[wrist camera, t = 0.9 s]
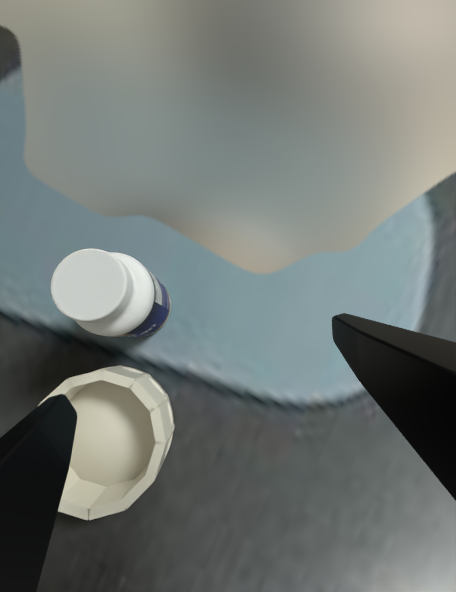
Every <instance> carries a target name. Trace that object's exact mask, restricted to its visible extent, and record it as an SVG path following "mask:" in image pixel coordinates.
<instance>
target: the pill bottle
mask: <svg viewBox="0 0 456 592" xmlns="http://www.w3.org/2000/svg"><path fill="white" fill-rule="evenodd" d="M51 294H52V298H53V301H54V303H55V305H56V306H57V308H58V309H59V310H60V311H61V312H62V313H63V314H64V315H66V316H67V317H69V318H71V319H74V320H75V321H76V322H77V323H78V324H79V325H80V326H81V327H82V328H84V329H85V330H87V331H89V332H91V333H94V334H97V335H102V336H111V337H144V336H148V335H151V334H153V333H155V332H157V331H158V330H159V329H160V328H162V327H163V325H164V324H165V323H166V321H167V320H168V317H169V315H170V311H171V300H170V296H169V294H168V291H167V290H166V288H165V287H164V286H163V284H162V283H161V282H160V281H159V280H158V279H157V278H156V277H155V276H154V275H153V274H152V273H150V272H149V271H148V270H147V269H146V268H145V267H144V266H143V265H142V264H141V263H140V262H138V261H137V260H136V259H134V258H132V257H130V256H128V255H125V254H121V253H113V252H110V253H108V252H106V251H103V250H99V249H83V250H79V251H76V252H74V253H72V254H70V255H69V256H67V257H66V258H65V259H64V260H63V261H62V262H61V263H60V264H59V265H58V266H57V268H56V270H55V272H54V274H53V276H52V280H51Z"/></svg>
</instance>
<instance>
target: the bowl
mask: <svg viewBox="0 0 456 592" xmlns="http://www.w3.org/2000/svg"><path fill="white" fill-rule="evenodd" d="M59 394H64V395H66V396H67V398H68V399H69V401H70V402H71V404H72V405H73V407H74V409H75V410H76V412H77V424H76V430H75V437H74V443H73V449H72V455H71V461H70V466H69V470H68V474H67V478H66V482H65V486H64V490H63V493H62V497H61V501H60V505H59V508H58V511H59V512H62V513H65V514H68V515H72V516H75V517H78V518H81V519H84V520H88V519H89V520H93V519H96V518H100V517H103V516H107V515H110V514H114V513H118V512H121V511H125V510H126V509H128V508H129V506H130V505H131V504H132V503H133V502H134V501H135V500H136V499H137V498H138V497H139V496H140V495H141V494H142V493H143V492H144V491H145V490H146V489H147V488H148V487H149V486H150V485H151V484H152V483H153V482H154V480H155V479H156V477H157V474H158V472H159V470H160V468H161V466H162V464H163V462H164V460H165V458H166V455H167V453H168V451H169V448H170V445H171V442H172V438H173V432H174V427H175V425H174V416H173V410H172V406H171V403H170V400H169V397H168V395H167V394H166V392H165V391H164V389H163V388H162V386H161V385H160V384H159V383H158V382H157V381H156V380H155V379H154V378H153V377H151V376H150V374H148V373H145V372H143V371H141V370H138V369H136V368H132V367H126V366H122V365H121V366H120V365H119V366H112V367H107V368H102V369H99V370H96V371H93V372H90V373H86V374H82V375H78V376H74V377H70V378H68V379H66V380H65V381H64V382H63V383H62V384H61V385H59V386H58V387H57V388H56V389H55V390H54V391H53V392H52V393H51V394H49V395H48V396H47V397H46V398H45V399H44V400H43V401H42V402H41V403H43V402H44V401H45V400H46V399H47V398H49V397H51V396H55V395H59ZM41 403H40V404H41ZM40 404H39V405H40ZM39 405H38V406H39Z"/></svg>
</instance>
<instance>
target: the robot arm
mask: <svg viewBox="0 0 456 592" xmlns="http://www.w3.org/2000/svg"><path fill="white" fill-rule="evenodd" d="M332 333H333V340H334V342H335V344H336V346H337V347H338V349H339V350H340V352H341V354H342V355H343V357H344V358H345V360H346V361H347V363H348V364H349V366H350V368H351V369H352V371H353V372H354V374H355V375H356V377H357V378H358V380H359V381H360V382H361V384H362V385H363V386H364V387H365V389H366V390H367V391H368V392H369V394H370V395H371V396H372V397H373V399H374V400H375V401H376V402H377V404H378V405H379V406H380V407H381V409H382V410H383V411H384V412H385V414H386V415H387V416H388V417H389V418H390V420H391V421H392V422H393V423H394V425H395V426H396V427H397V428H398V430H399V431H400V432H401V433H402V435H403V436H404V437H405V438H406V440H407V441H408V442H409V443H410V445H411V446H412V447H413V448H414V450H415V451H416V452H417V453H418V454H419V456H420V457H421V458H422V459H423V461H424V462H425V463H426V464H427V466H428V467H429V468H430V469H431V471H432V472H433V473H434V474H435V476H436V477H437V478H438V479H439V481H440V482H441V483H442V484H443V486H444V487H445V488H446V489H447V490H448V492H449V493H450V494H451V495H452V497H453V498H454V499H455V500H456V342H452V341H448V340H444V339H440V338H437V337H433V336H429V335H425V334H421V333H418V332H414V331H410V330H406V329H403V328H399V327H395V326H391V325H387V324H384V323H380V322H376V321H372V320H368V319H365V318H361V317H357V316H353V315H350V314H346V313H343V314H339V315H336V316H334V317H333V318H332ZM76 424H77V412H76V410H75V409H74V407H73V405H72V404H71V402H70V401H69V399H68V398H67V396H66V395H64V394H59V395H55V396H51V397H49V398H47V399H46V400H45V401H44V402H43V403H41V404H40V405H39V406H38V407H37V408H35V409H34V410H33V411H32V412H31V413H30V414H28V415H27V416H26V417H25V418H24V419H22V420H21V421H20V422H19V423H18V424H16V425H15V426H14V427H13V428H12V429H11V430H9V431H8V432H7V433H6V434H5V435H3V436H2V437H1V438H0V592H36V591H37V587H38V583H39V579H40V576H41V572H42V568H43V564H44V561H45V557H46V553H47V549H48V546H49V542H50V538H51V534H52V531H53V527H54V523H55V520H56V516H57V512H58V508H59V505H60V501H61V497H62V493H63V490H64V486H65V482H66V478H67V474H68V470H69V466H70V461H71V455H72V449H73V443H74V437H75V430H76Z"/></svg>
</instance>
